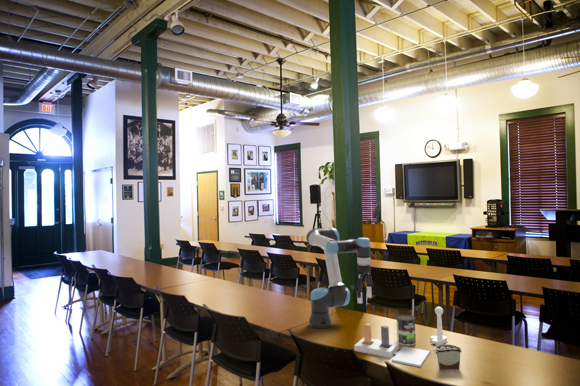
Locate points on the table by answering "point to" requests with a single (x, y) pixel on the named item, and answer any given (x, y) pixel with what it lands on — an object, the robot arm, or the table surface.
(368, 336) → the jaw pin orange
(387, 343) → the ball
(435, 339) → the joystick
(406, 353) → the lid
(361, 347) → the housing
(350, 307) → the table surface
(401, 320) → the coffee can
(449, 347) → the food container
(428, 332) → the table surface
